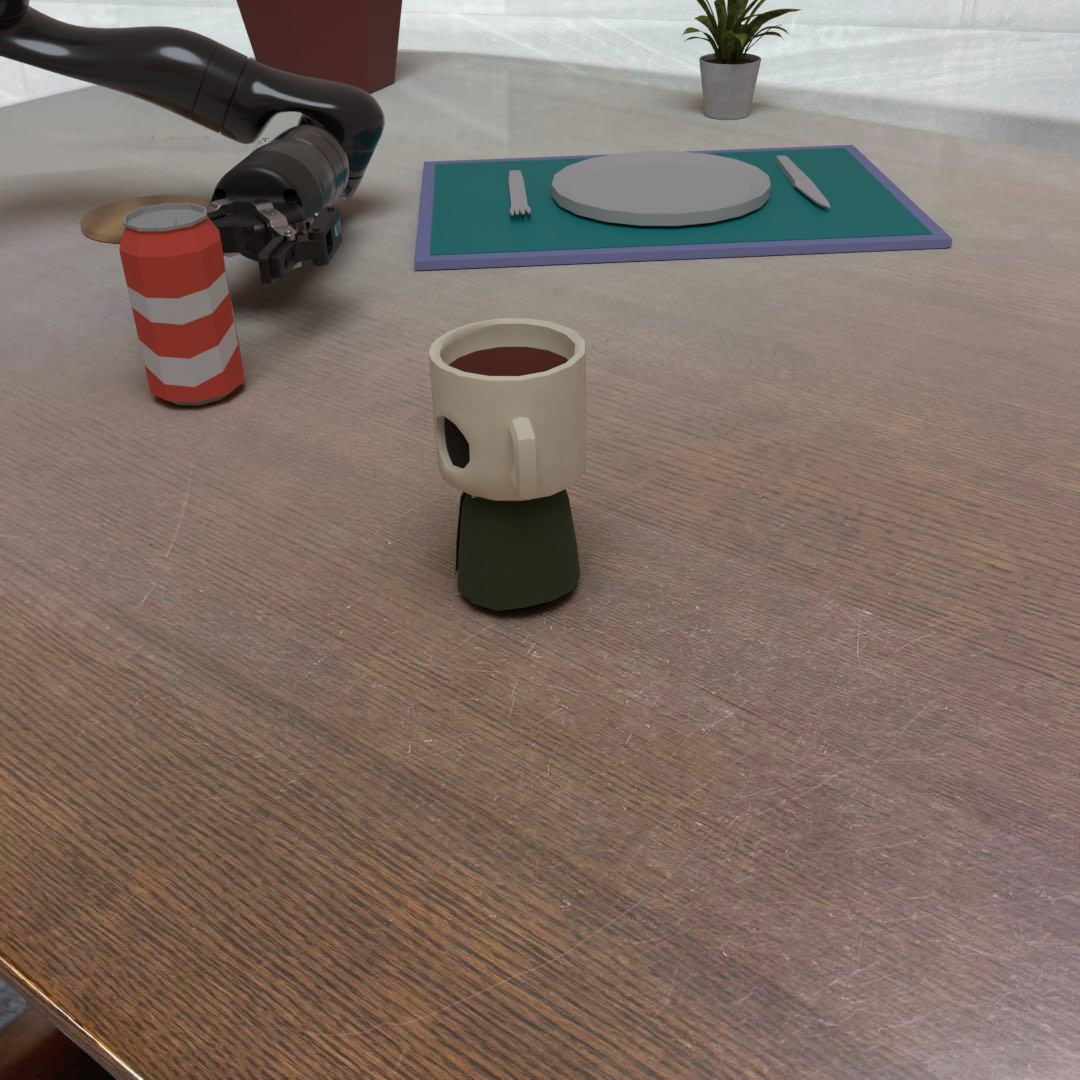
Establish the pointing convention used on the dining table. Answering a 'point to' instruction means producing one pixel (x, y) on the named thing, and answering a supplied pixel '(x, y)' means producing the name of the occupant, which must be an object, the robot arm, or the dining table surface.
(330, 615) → the dining table surface
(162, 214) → the beverage can
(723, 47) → the house plant
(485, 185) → the place mat
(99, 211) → the cork trivet
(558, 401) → the character mug
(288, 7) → the bucket
